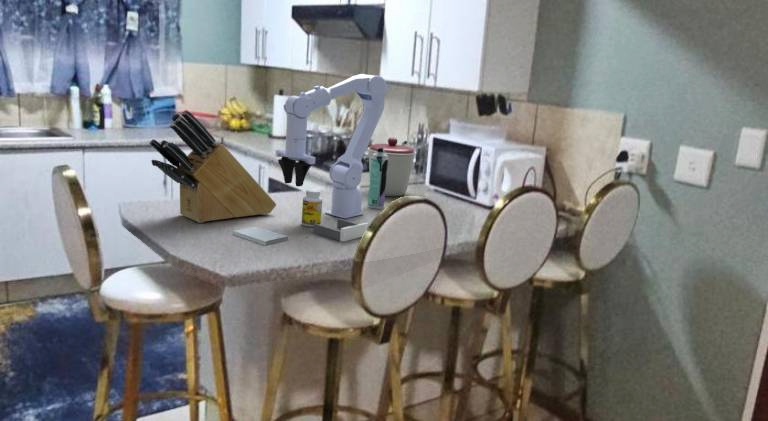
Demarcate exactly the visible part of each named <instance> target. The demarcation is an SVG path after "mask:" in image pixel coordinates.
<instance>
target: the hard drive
mask: <svg viewBox="0 0 768 421" xmlns="http://www.w3.org/2000/svg"><path fill="white" fill-rule="evenodd" d="M232 235H233V236H237V237H240V238H243V239H245V240H248V241H251V242H253V243H256V244H260V245H262V246H268V245H272V244H277V243H280V242H285V241H289V236H288V235H284V234H281V233H278V232H275V231H271V230H268V229H266V228H262V227H259V226H255V225H254V226H250V227H245V228H240V229H235V230H232Z"/></svg>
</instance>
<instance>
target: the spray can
mask: <svg viewBox="0 0 768 421" xmlns="http://www.w3.org/2000/svg"><path fill="white" fill-rule="evenodd" d="M387 166H388V155H386V154H385V152H384V151H383V148H378V150H377V151H376V153H374V154H372V160H371V172H370V173H369V187H368V201H367V207H368V208H370V209H375V210H376V209H377V210H379V209H381V210H382V209H384V207H385V201H386V200H385V198H386V196H385V189H386V178H387Z"/></svg>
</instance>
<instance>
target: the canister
mask: <svg viewBox="0 0 768 421" xmlns="http://www.w3.org/2000/svg"><path fill="white" fill-rule="evenodd" d="M378 148H383V151H384V152H385V154H386V155H388V166H387V178H386V189H385V197H399V196H400V197H401V196H404V195H405V194H406V192H407V190H408V187H409V183H410V178H411V174H412V169H413V165H414V158H415V155H416V154H417V151H415V150H414V149H413V148H412V147H409V146H407V145H401V144H398V139H397V138H396V137H394V136H393V137H389V138H388V139H387V143H375V144H372V145H370V146H369V147H368V146H367V148H366V150H367V151H368V165H369V166H368V168H369V174H370V172H371V160H372V154H374V153H376V151H377V150H378Z"/></svg>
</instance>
